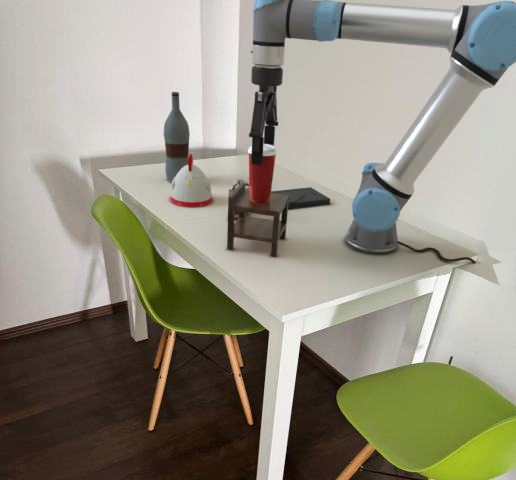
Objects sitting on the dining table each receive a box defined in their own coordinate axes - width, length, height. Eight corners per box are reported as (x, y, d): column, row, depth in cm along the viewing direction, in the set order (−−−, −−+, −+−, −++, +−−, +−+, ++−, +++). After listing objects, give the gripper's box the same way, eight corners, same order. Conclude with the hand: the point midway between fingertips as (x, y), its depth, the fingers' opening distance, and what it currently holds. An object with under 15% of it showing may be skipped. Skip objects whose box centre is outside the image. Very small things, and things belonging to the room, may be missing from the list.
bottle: (179, 174, 197) (176, 89, 179) (195, 180, 192) (194, 93, 175) (160, 179, 191) (155, 91, 173) (177, 185, 186) (173, 95, 169)
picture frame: (285, 209, 171) (329, 204, 178) (286, 203, 170) (330, 197, 177) (267, 197, 181) (310, 192, 188) (268, 190, 180) (310, 186, 187)
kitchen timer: (168, 206, 168) (166, 159, 159) (173, 192, 179) (171, 148, 171) (210, 207, 169) (211, 161, 160) (212, 194, 180) (212, 150, 171)
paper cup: (279, 200, 139) (283, 147, 131) (259, 206, 135) (262, 152, 127) (259, 193, 144) (262, 141, 136) (239, 198, 139) (241, 145, 131)
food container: (246, 223, 159) (248, 192, 153) (227, 221, 160) (228, 189, 154) (254, 210, 169) (256, 180, 163) (236, 208, 170) (237, 178, 164)
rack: (285, 238, 151) (289, 188, 143) (275, 257, 140) (280, 204, 131) (240, 231, 153) (241, 182, 145) (227, 249, 142) (228, 197, 134)
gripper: (263, 60, 131) (259, 145, 143) (238, 70, 111) (236, 168, 123) (292, 62, 130) (285, 148, 142) (271, 73, 110) (266, 172, 122)
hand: (262, 158), depth 133 cm, fingers open, 13 cm apart
